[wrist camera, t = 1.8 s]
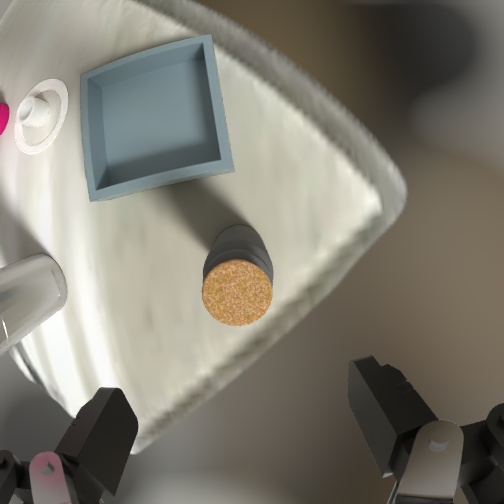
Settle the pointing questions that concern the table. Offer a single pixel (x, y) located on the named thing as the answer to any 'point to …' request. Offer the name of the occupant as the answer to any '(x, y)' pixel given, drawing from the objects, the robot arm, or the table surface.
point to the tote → (154, 120)
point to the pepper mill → (3, 116)
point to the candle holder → (39, 114)
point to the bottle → (237, 277)
